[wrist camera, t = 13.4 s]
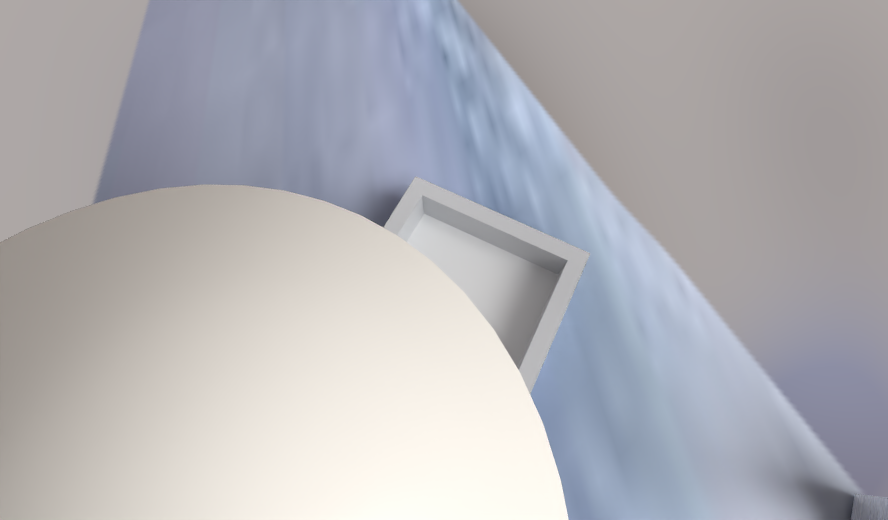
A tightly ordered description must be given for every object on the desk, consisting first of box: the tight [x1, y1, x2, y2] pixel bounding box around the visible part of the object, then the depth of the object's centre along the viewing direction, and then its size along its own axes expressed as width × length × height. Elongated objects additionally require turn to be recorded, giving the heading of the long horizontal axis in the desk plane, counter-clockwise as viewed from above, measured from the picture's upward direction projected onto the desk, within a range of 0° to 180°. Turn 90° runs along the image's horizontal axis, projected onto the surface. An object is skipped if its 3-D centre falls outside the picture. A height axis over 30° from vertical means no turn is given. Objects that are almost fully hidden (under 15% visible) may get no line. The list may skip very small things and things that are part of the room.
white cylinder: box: [0, 185, 568, 520], centre depth 8 cm, size 7×7×13 cm
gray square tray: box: [383, 177, 590, 393], centre depth 21 cm, size 9×9×2 cm
